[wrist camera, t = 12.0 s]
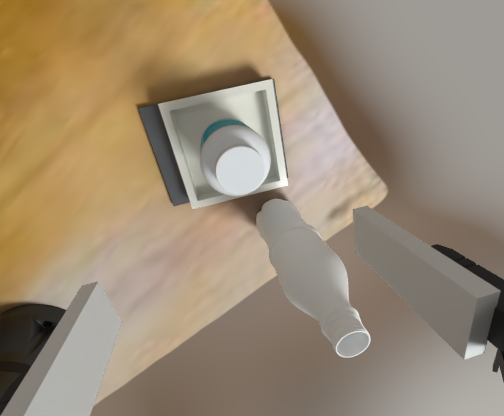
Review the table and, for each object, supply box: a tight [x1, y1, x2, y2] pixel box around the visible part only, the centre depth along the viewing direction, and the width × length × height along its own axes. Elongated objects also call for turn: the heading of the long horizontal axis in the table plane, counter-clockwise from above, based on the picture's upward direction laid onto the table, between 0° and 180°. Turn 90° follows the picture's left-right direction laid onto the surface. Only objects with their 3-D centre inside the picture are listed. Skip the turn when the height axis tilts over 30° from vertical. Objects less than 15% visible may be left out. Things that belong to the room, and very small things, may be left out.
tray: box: [158, 79, 288, 209], centre depth 35 cm, size 14×14×3 cm
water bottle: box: [256, 199, 370, 357], centre depth 32 cm, size 7×7×25 cm
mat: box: [138, 79, 288, 206], centre depth 37 cm, size 18×14×1 cm
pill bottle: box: [200, 118, 271, 196], centre depth 30 cm, size 8×7×14 cm
